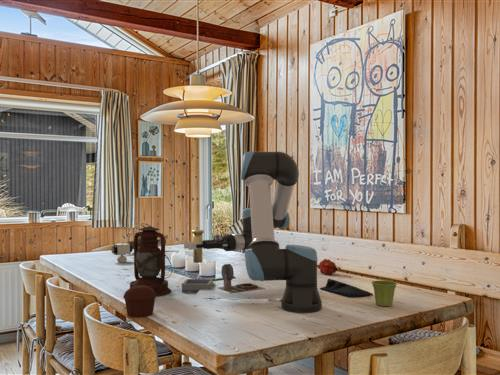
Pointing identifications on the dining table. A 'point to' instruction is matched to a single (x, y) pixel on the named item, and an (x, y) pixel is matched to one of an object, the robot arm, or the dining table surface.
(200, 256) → the lock pin
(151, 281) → the lantern
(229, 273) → the board
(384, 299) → the plant pot
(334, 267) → the red bumpy oval lump
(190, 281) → the tray
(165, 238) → the wood carving
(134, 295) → the muffin
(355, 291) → the dark slate chunk
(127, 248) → the pneumatic valve
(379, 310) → the dining table surface
